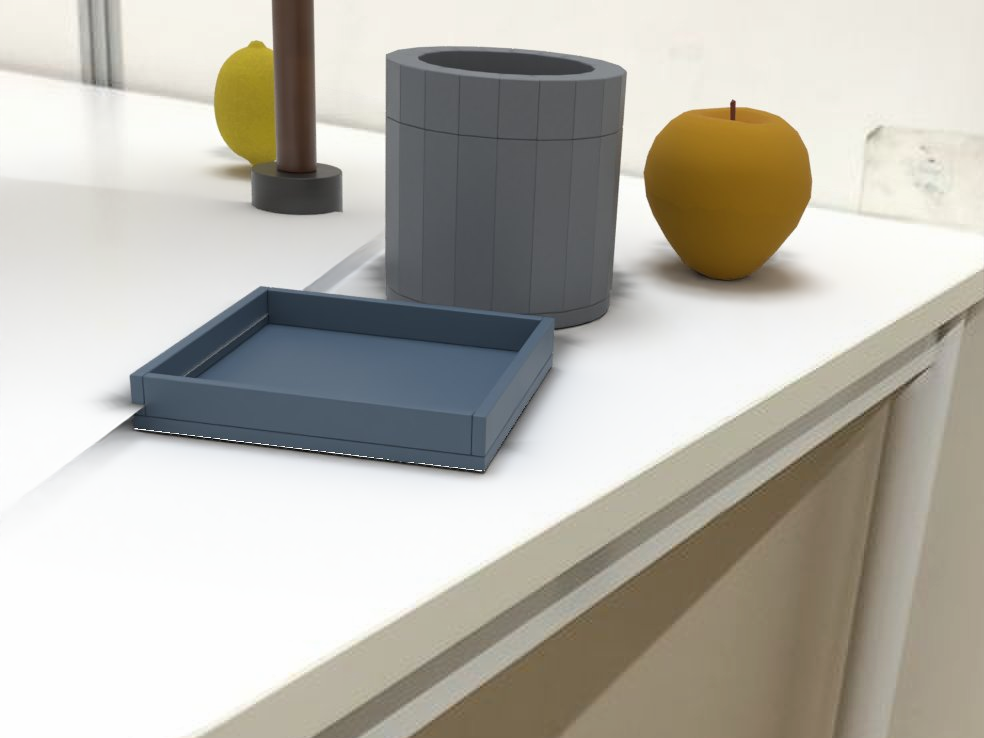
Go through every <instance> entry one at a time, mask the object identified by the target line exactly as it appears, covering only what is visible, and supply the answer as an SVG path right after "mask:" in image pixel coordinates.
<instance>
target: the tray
mask: <svg viewBox="0 0 984 738" xmlns="http://www.w3.org/2000/svg"><path fill="white" fill-rule="evenodd" d="M554 325H555V319H554V318H548V317H544V318H543V317H539V316H530V315H521V314H512V313H502V312H493V311H484V310H475V309H466V308H457V307H448V306H439V305H430V304H420V303H411V302H402V301H393V300H388V299H385V298H384V299H382V298H374V297H365V296H364V297H363V296H357V295H355V296H354V295H346V294H337V293H327V292H319V291H311V290H301V289H291V288H282V287H273V286H263V285H260V286H258V287H257V288H255V289H254V290H252V291H251V292H250V293H248V294H247V295H245V296H244V297H242V298H241V299H239V300H237V301H236V302H235V303H233V304H232V305H230V306H229V307H227V308H226V309H225V310H223V311H221V312H220V313H218V314H217V315H215V316H214V317H212V318H211V319H210V320H208V321H207V322H205V323H204V324H202V325H201V326H199V327H198V328H196V329H195V330H193V331H192V332H190V333H189V334H187V335H186V336H185V337H183V338H182V339H180V340H179V341H177V342H176V343H174V344H172V346H170V347H168V348H167V349H165V350H164V351H163V352H161V353H160V354H158V355H157V356H155V357H154V358H152V359H151V360H149V361H148V362H147V363H145V364H143V365H142V366H141V367H139V368H138V369H136V370H135V371H133V372H132V373H130V374H129V386H130V387H129V388H130V398H131V400H130V401H131V404H137V405H144V406H142V407H141V408H140V409H138V410H137V411H136V412H134V413H133V415H132V424H133V429H134V428H138V429H146V430H154V431H162V432H170V433H179V434H187V435H195V436H203V437H211V438H220V439H228V440H236V441H244V442H252V443H261V444H269V445H277V446H285V447H293V448H302V449H310V450H318V451H326V452H335V453H343V454H351V455H359V456H367V457H374V458H383V459H384V460H383V461H385V460H387V459H389V460H394V461H401V462H400V463H402V462H414V463H417V464H416V465H418V463H425V464H433V465H441V466H449V467H458V468H466V469H474V470H482V471H484V470H485V469H486V468H488V467H489V465H490V464H491V462H492V461H493V459H494V458H495V456H496V454H497V453H498V451H499V450H498V449H500V448H501V447H502V445H503V443H504V442H505V440H506V439H507V437H508V435H509V434H510V432H511V431H512V429H513V428H514V426H515V424H516V423H517V421H518V420H519V418H520V417H519V416H521V415H522V413H523V412H524V410H525V409H526V407H527V406H528V404H529V402H530V401H531V399H532V398H533V396H534V395H533V394H535V393H536V391H537V390H538V388H539V387H540V386H541V383H542V382H543V380H544V379H545V378H546V376H547V374H548V373H549V372H550V370H551V368H552V366H553V363H554V361H553V360H554V359H553V358H554V345H555V344H554V343H555V329H554ZM531 397H532V398H531ZM529 400H530V401H529ZM526 405H527V406H526ZM525 406H526V407H525ZM524 408H525V409H524ZM523 409H524V410H523ZM522 411H523V412H522ZM520 414H521V415H520ZM518 417H519V418H518ZM517 419H518V420H517ZM516 420H517V421H516ZM515 422H516V423H515ZM513 425H514V426H513ZM512 427H513V428H512ZM511 428H512V429H511ZM510 430H511V431H510ZM509 431H510V432H509ZM508 433H509V434H508ZM506 436H507V437H506ZM505 438H506V439H505ZM504 439H505V440H504ZM503 441H504V442H503ZM502 442H503V443H502ZM501 444H502V445H501ZM499 447H500V448H499ZM497 450H498V451H497ZM496 452H497V453H496ZM495 453H496V454H495ZM494 455H495V456H494ZM492 458H493V459H492ZM491 460H492V461H491ZM490 461H491V462H490ZM489 463H490V464H489ZM488 464H489V465H488ZM487 466H488V467H487ZM486 470H487V469H486ZM486 470H485V471H486Z"/></svg>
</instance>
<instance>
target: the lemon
mask: <svg viewBox="0 0 984 738" xmlns="http://www.w3.org/2000/svg"><path fill="white" fill-rule="evenodd" d="M213 112H214V117H215V123H216V126H217V130H218V132H219V134H220V136H221V138H222V140H223V141H224V143H225V144H226V146H227V147H228V148H229V149H230V151H232V152H233V153H234V154H236V155H237V156H239V157H241V158H243V159H244V160H246V161H248V163H250V165H251V167H252V166H254V165H257V164H260V163H266V162H274V161H276V133H275V99H274V64H273V49H271V48H269V47H267V46H266V44H265V43H264V42H263V41H262V40H257V39H256V40H251V41H250V42H249V43H248V45H247V46H245V47H242V48H240V49H238V50H236V51H235V52H233V53H232V54H230V56H228V58H226V60H225V61H224V62H223V63H222V65H221V67H220V68H219V72H218V74H217V77H216V82H215V87H214V93H213Z"/></svg>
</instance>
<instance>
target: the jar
mask: <svg viewBox="0 0 984 738" xmlns="http://www.w3.org/2000/svg"><path fill="white" fill-rule="evenodd" d="M627 77H628V71H627V70H626V69H625V68H624V67H622V66H621V65H619V64H616V63H614V62H610V61H607V60H603V59H599V58H594V57H588V56H583V55H577V54H569V53H563V52H562V53H561V52H553V51H547V50H536V49H526V48H525V49H524V48H515V47H514V48H512V47H493V46H474V45H473V46H467V45H466V46H464V45H462V46H460V45H459V46H457V45H437V46H436V45H435V46H418V47H408V48H401V49H397V50H393V51H391V52H388V53H386V54H385V125H384V126H385V135H384V136H385V137H384V138H385V139H384V140H385V141H384V142H385V145H384V146H385V147H384V148H385V151H384V154H385V155H384V158H385V159H384V160H385V163H384V164H385V165H384V166H385V167H384V169H385V171H384V173H385V175H384V176H385V177H384V181H385V185H384V186H385V187H384V188H385V189H384V191H385V192H384V193H385V195H384V197H385V198H384V203H385V204H384V251H385V252H384V276H385V277H384V278H385V297H386V300H393V301H402V302H411V303H420V304H430V305H439V306H448V307H457V308H466V309H475V310H484V311H493V312H502V313H512V314H521V315H530V316H539V317H543V318H544V317H548V318H554V319H555V325H554V330H556V329H564V328H569V327H570V328H571V327H574V326H579V325H583V324H587V323H590V322H592V321H594V320H597V319H600V318H601V317H602V316H604V315H605V314H606V313H607V311H608V310H609V308H610V303H611V291H612V289H613V277H614V262H615V249H616V248H615V247H616V246H615V245H616V234H617V219H618V207H619V206H618V205H619V192H620V180H621V179H620V177H621V165H622V164H621V163H622V150H623V148H622V147H623V137H624V136H623V134H624V121H625V120H624V119H625V106H626V105H625V104H626V93H627V92H626V91H627V79H628V78H627Z"/></svg>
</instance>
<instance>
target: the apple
mask: <svg viewBox="0 0 984 738" xmlns="http://www.w3.org/2000/svg"><path fill="white" fill-rule="evenodd" d="M643 180H644V188H645V189H644V190H645V198H646V200H647V203H648V206H649V209H650V212H651V214H652V216H653V218H654V220H655V222H656V223H657V225H658V227H659V229H660V230H661V233H662V234H663V236H664V238H665V239H666V241H667V242H668V243H669V245H670V247H671V248H672V249H673V251H674V252H675V253H676V254H677V256H678V257H679V259H680V261H682V262H683V264H684V265H685V266H687V267H688V268H689V269H690V270H693V271H695V272H697V273H699V274H701V275H703V276H705V277H707V278H710V279H713V280H722V281H731V280H740V279H743V278H745V277H748V276H750V275H751V274H753V273H755V272H757V271H758V270H760V269H761V268H762V266H764V265H765V264H766V262H767V261H769V260H770V258H772V256H773V255H774V254H775V253H776V252H777V251H778V250H779V249H780V248H781V247H782V245H783V244H784V243H785V242H786V240H787V239H789V237H790V235H791V234H792V233H793V232H794V231H795V230H796V229H797V227H798V225H800V224H799V223H800V222H801V219H802V217H803V215H804V213H805V212H806V209H807V208H808V205H809V202H810V201H811V199H812V190H813V189H812V188H813V175H812V169H811V162H810V154H809V151H808V148H807V145H805V143H804V141H803V138H802V137H801V135H800V133H799V131H797V130H796V129H795V128H794V127H793V126H792V125H791V124H790V123H789V122H788V121H787V120H785V119H784V118H782V117H781V116H780V115H777V114H775V113H772V112H769V111H766V110H761V109H756V108H753V107H752V108H751V107H746V106H745V107H744V106H737V101H736V100H735V99H731V100H730V102H729V106H726V107H711V108H699V109H697V108H696V109H690V110H687V111H683V112H682V113H680V114H679V115H677V116H676V117H673V118H672V119H671V120H670V121H669V122H668V123H667V124H666V125H665V126H664V127H663V128H662V129H661V130H660V131H659V132H658V134H657V135H656V136H655V137H654V140H653V141H652V143H651V146H650V148H649V150H648V152H647V155H646V160H645V164H644V169H643ZM730 279H731V280H730Z"/></svg>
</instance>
